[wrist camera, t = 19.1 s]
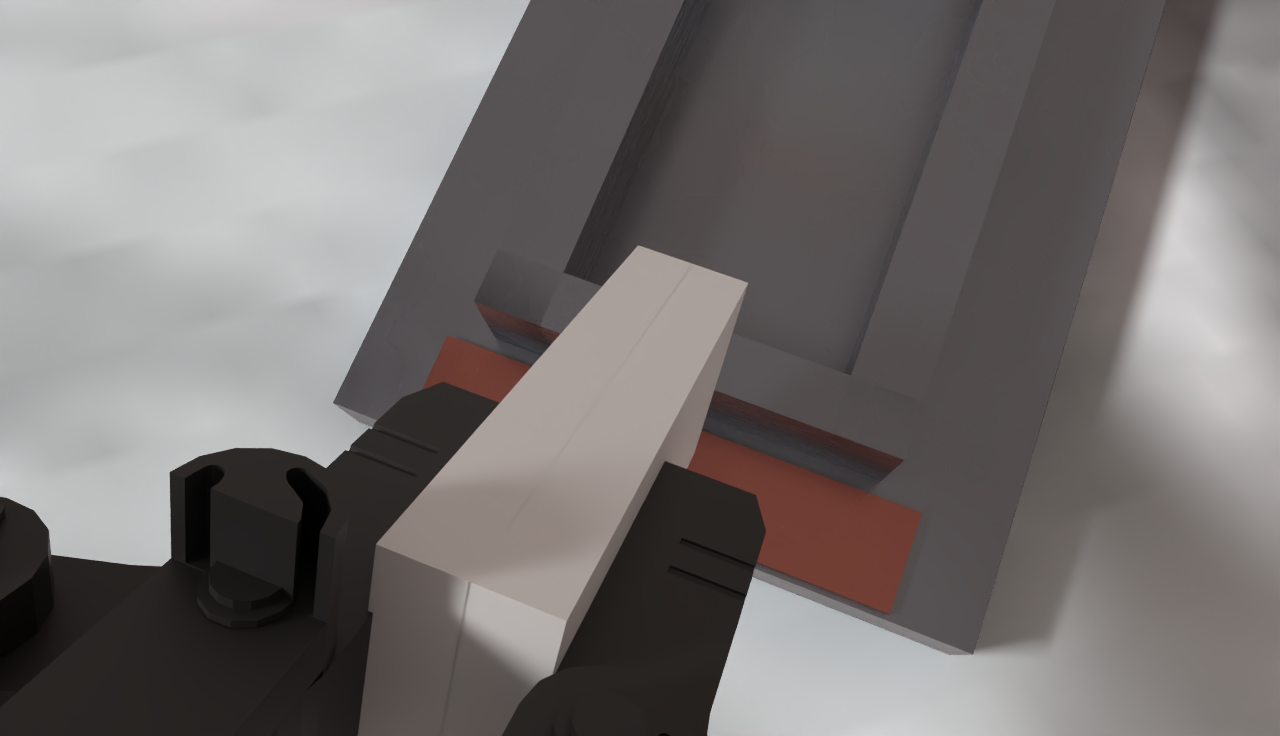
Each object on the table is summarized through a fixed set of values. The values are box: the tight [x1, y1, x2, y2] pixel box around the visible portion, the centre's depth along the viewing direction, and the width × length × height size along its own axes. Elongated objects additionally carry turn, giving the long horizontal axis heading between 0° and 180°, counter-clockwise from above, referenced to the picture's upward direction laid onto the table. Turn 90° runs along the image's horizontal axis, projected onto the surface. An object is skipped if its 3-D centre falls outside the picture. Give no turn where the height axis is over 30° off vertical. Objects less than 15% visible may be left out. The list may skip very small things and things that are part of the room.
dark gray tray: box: [333, 0, 1166, 655], centre depth 19 cm, size 20×12×4 cm, turn 158°
